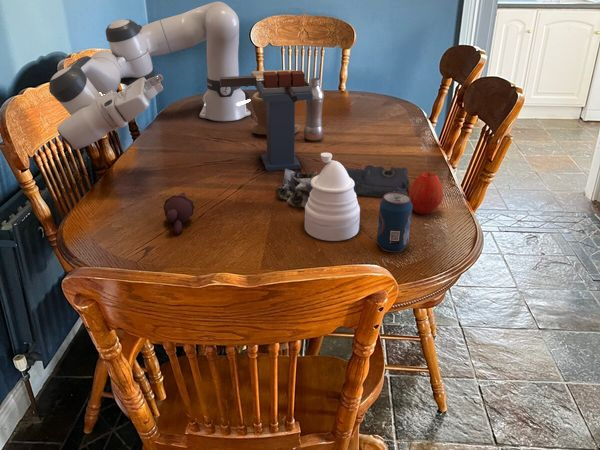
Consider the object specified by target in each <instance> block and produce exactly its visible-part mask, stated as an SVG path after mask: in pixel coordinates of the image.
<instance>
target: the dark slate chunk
mask: <svg viewBox="0 0 600 450" xmlns="http://www.w3.org/2000/svg"><path fill="white" fill-rule="evenodd" d="M345 170H346V171H347V173H348V175H349V177H350V178H352V180H353V181H354V183H355V185H354V188H353V189H354V192H355V193H356V196H357V197H358V196H359V197H371V198H383V196H384V194H386V193H389V192H401V193H405V194H407V195H409V193H408V191H407V189H408V186H409V184H410V180H409V177H408V172H409V171H408V168H406V167H394V166H391V167H390V170H387V169H385V167H383V166H382V165H381V166H374V165H370V164H368V165H366V166H365V167H364V168H345Z"/></svg>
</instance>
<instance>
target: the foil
mask: <svg viewBox="0 0 600 450" xmlns="http://www.w3.org/2000/svg"><path fill="white" fill-rule="evenodd" d="M315 174H316V176H317V175H319V174H318V172H317V170H313V171H312V172H311V173H309V174H305V173H301V172H299V171H294V170H293V169H285V170H284V174H283V181H282V186H279V187H277V188H276V189H275V192H276V195H277V196H278V199H279V200H286V202H287V203H288V204H290V205H292V207H294V208H296V207H302V208H305V205H306V203H307V202H308V198H309V196H310V192H311V191H312V189H313V187H312V186H311V180H312V178H314V177H315Z"/></svg>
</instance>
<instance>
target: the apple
mask: <svg viewBox="0 0 600 450" xmlns="http://www.w3.org/2000/svg"><path fill="white" fill-rule="evenodd" d="M408 195H409V196H410V198H411V199H410V201H411V203H412V211H413V212H415V213H417V214H419V215H424V216H425V215H430V214H432V213H434V212H435V211H436V210H437V208H438V207H439V206H440V205H441V204H442V202H443V199H444V190H443V185H442V183H441V179H440V178H439V177H438V176H437V174H435V173H433V172H431V171H423V172H421V173H420V174H418V175H417V176H416V178H415V179H414V181H413V182H412V184H411V187H410V189H409V193H408Z"/></svg>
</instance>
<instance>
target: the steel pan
mask: <svg viewBox="0 0 600 450" xmlns="http://www.w3.org/2000/svg"><path fill="white" fill-rule="evenodd" d="M261 79H263V78H261ZM257 85H258V86H259V88H260V90H261V91H262V93H263V94H284V93H287V94H288V96H289V97H290V98H291V100H292V101H293V102H295V103H296V102H297V100H298V97H297V96H296V94H295V93H306V92H312V86H311V85H310V84H309V81H308V80H307V79H306V80H305V83H304V87H292V86H291V87H282V88H279V87H278V86H277V88H265V87H264V85H263V82H257Z"/></svg>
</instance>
